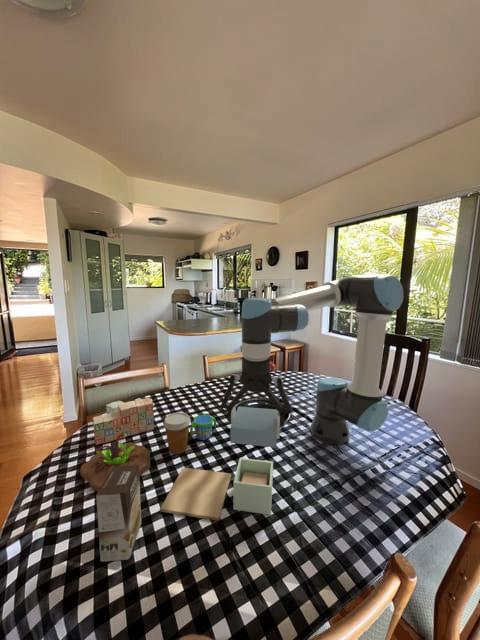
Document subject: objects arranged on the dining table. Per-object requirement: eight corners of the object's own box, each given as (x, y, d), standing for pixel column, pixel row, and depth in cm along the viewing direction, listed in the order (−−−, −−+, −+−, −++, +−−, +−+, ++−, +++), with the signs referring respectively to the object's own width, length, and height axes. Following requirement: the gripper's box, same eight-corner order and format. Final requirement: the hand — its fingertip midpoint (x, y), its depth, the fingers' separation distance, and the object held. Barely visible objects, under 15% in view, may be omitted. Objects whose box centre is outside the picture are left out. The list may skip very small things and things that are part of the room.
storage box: (272, 486, 78) (273, 461, 77) (270, 514, 68) (271, 487, 67) (239, 481, 80) (239, 457, 79) (233, 509, 70) (233, 482, 69)
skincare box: (113, 424, 112) (112, 408, 111) (106, 420, 116) (105, 404, 115) (127, 419, 117) (126, 403, 116) (120, 414, 120) (119, 399, 119)
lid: (277, 423, 76) (277, 409, 76) (276, 447, 65) (276, 431, 64) (238, 419, 78) (238, 406, 78) (230, 442, 67) (230, 427, 66)
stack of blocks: (95, 447, 96) (93, 416, 95) (94, 439, 101) (92, 409, 100) (154, 430, 108) (153, 402, 106) (150, 423, 113) (149, 396, 111)
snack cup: (212, 428, 110) (211, 411, 109) (221, 437, 103) (220, 419, 102) (186, 436, 103) (186, 419, 102) (194, 446, 97) (193, 428, 96)
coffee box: (130, 560, 57) (126, 494, 55) (99, 562, 57) (94, 495, 54) (142, 522, 66) (139, 464, 64) (116, 524, 66) (112, 465, 63)
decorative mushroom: (279, 385, 157) (280, 361, 155) (266, 389, 150) (266, 364, 148) (266, 380, 165) (267, 357, 163) (253, 384, 159) (254, 360, 157)
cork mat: (231, 475, 82) (231, 473, 82) (218, 520, 67) (218, 517, 67) (183, 469, 85) (183, 467, 85) (160, 511, 69) (160, 508, 69)
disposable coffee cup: (177, 460, 89) (176, 428, 88) (158, 451, 94) (157, 420, 93) (196, 446, 97) (195, 416, 96) (178, 438, 102) (177, 409, 101)
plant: (162, 465, 87) (160, 434, 86) (101, 502, 73) (98, 465, 71) (131, 442, 100) (130, 415, 99) (74, 469, 85) (72, 438, 84)
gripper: (301, 355, 70) (299, 430, 73) (215, 351, 74) (216, 422, 77) (303, 363, 63) (300, 446, 66) (208, 359, 67) (209, 437, 70)
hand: (255, 433), depth 72 cm, fingers closed on lid, 12 cm apart
